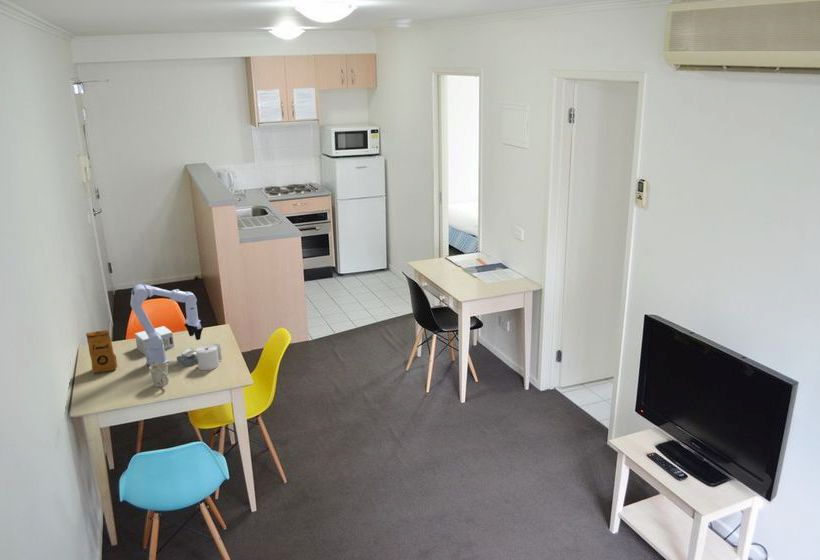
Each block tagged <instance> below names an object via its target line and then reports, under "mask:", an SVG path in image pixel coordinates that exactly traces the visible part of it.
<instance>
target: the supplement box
mask: <svg viewBox="0 0 820 560" xmlns="http://www.w3.org/2000/svg"><path fill="white" fill-rule="evenodd" d="M154 329H155V331H156V332H157V333H159V334H160V336H161V338H162V340H163V343H164V349H165V350H167V349H168V350H169V349H170V348H174V347H175V342H174V336H173V332H172V331H171V330H170V329H169V328H167V326H165V325H162V326H159V327H154ZM134 335H135V343H136V348H137V349H138V350H139V351H140V352H141V353H142V354H143V355H145V356H146V354H145V351H146V350H148V349H149V348H150V345H151V343H150V341H149V337H148V335H147V333H146V332H145V330H143V331H139V332H135V333H134Z"/></svg>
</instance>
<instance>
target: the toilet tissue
mask: <svg viewBox="0 0 820 560" xmlns="http://www.w3.org/2000/svg"><path fill="white" fill-rule="evenodd" d="M221 350H222V348H221V344H220V343H211V344H210V343H209V344H203V345H201V346H198V347H197V348H196V350H195V351H196V354H197V361H198V363H197V367H198V369H199V370H202V371H210V370H213V369H216V368H218V367H219V365H220V361H222V360H223V357H222V351H221Z"/></svg>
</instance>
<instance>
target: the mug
mask: <svg viewBox="0 0 820 560" xmlns="http://www.w3.org/2000/svg"><path fill="white" fill-rule="evenodd" d="M149 372H150V375H151V378H152V382H153V383H154V386H155V387H156V388H162V387H165V386H167V385H168V384H169V381H170V380H169V377H168V363H155V364H153V365H151V366H150V365H149Z"/></svg>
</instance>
